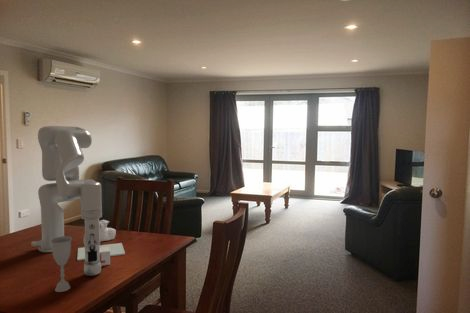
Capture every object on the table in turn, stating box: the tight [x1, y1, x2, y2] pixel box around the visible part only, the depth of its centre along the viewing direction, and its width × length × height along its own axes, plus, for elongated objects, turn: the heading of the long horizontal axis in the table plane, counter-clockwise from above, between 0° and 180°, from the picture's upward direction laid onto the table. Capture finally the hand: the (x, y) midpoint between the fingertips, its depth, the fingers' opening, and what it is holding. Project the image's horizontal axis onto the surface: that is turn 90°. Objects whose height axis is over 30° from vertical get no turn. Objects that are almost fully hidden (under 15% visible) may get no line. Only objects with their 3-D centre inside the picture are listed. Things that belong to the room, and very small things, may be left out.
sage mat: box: [76, 242, 126, 262], centre depth 157 cm, size 20×16×1 cm
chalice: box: [51, 235, 73, 293], centre depth 119 cm, size 7×7×18 cm
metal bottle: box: [82, 234, 102, 277], centre depth 131 cm, size 6×7×20 cm
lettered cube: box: [99, 247, 111, 267], centre depth 143 cm, size 6×6×6 cm
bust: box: [99, 219, 117, 243], centre depth 175 cm, size 12×8×11 cm
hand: (92, 257), depth 131 cm, fingers open, 7 cm apart
